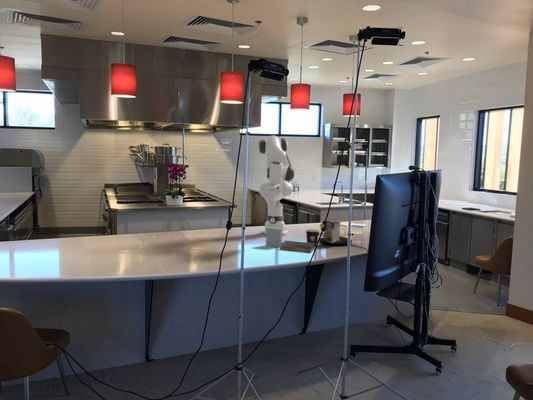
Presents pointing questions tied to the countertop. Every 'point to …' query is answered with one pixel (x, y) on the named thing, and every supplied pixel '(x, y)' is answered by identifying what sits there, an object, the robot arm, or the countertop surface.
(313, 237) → the coffee mug
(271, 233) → the grey rectangular block
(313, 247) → the brown flat box
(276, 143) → the robot arm
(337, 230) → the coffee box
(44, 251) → the countertop surface
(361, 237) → the countertop surface
